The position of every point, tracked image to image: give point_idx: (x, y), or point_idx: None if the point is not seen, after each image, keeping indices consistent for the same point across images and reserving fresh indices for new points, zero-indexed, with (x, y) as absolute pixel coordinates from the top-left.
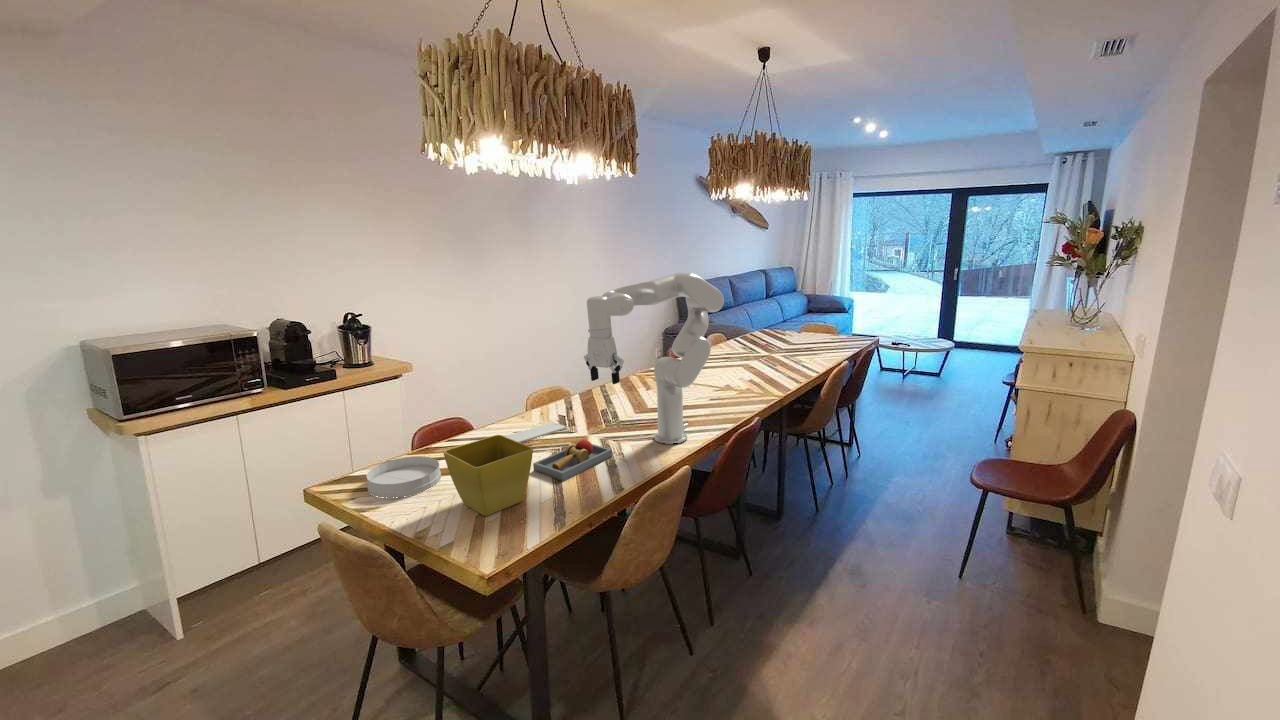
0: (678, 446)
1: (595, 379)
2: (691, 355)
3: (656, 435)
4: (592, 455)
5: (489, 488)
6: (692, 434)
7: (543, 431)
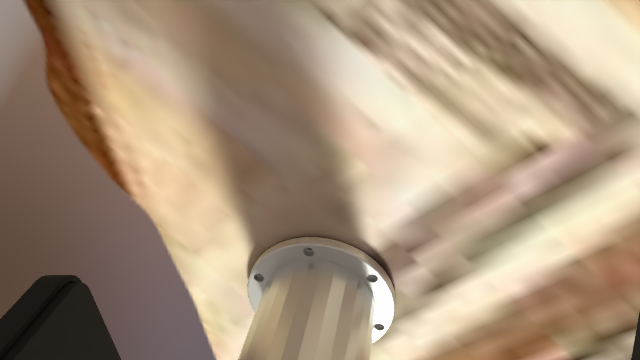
0: (234, 249)
1: (636, 343)
2: None
3: (376, 280)
4: None
5: None
6: None
7: None
